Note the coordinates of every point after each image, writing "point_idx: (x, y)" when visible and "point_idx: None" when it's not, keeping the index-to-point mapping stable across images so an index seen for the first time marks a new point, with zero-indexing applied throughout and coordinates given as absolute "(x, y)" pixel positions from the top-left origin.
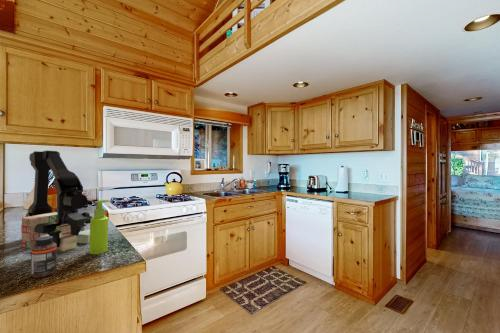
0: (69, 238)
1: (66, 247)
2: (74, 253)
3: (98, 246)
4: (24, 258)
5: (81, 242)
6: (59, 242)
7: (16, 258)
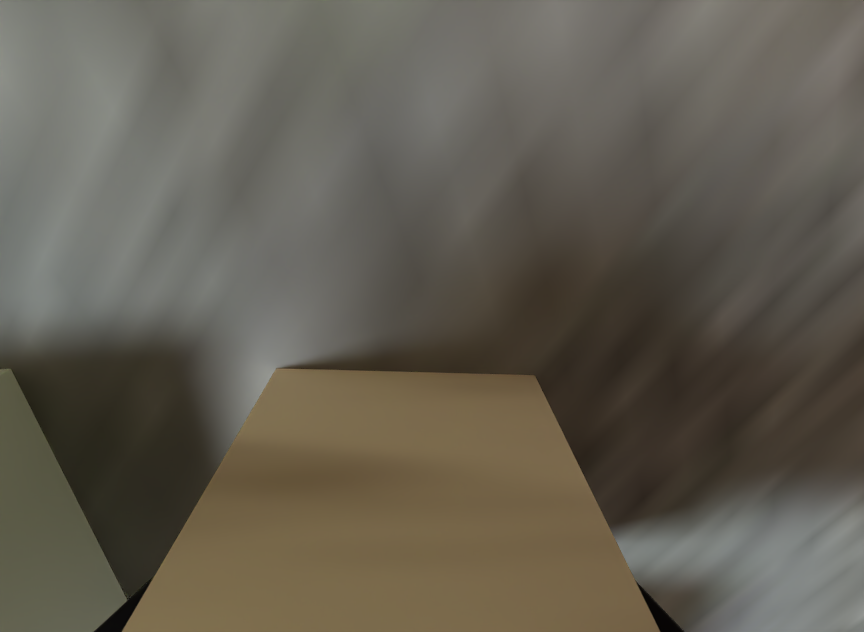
0: (431, 614)
1: (487, 411)
2: (578, 14)
3: None
4: (856, 566)
5: (74, 516)
6: None
7: (848, 628)
